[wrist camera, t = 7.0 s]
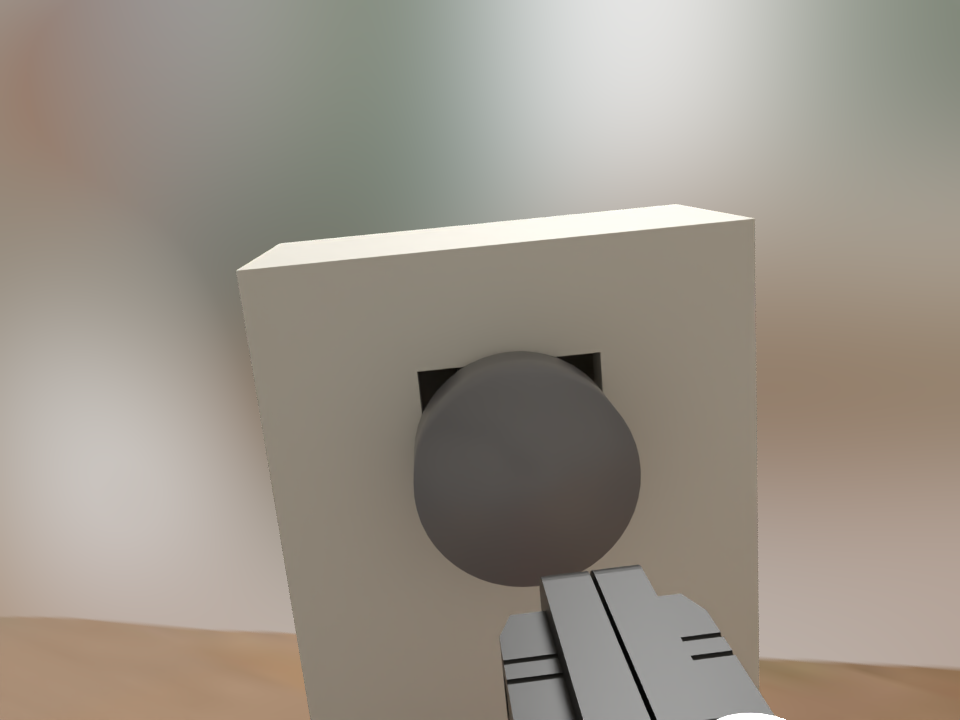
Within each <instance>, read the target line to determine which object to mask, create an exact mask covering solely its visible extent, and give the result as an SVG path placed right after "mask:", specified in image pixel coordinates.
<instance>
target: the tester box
mask: <svg viewBox="0 0 960 720" xmlns="http://www.w3.org/2000/svg"><path fill="white" fill-rule="evenodd" d="M236 273H237V279H238V286H239V291H240V297H241V304H242V310H243V315H244V322H245V328H246V333H247V340H248V346H249V351H250V358H251V364H252V370H253V376H254V382H255V388H256V394H257V400H258V406H259V412H260V418H261V423H262V430H263V436H264V442H265V448H266V454H267V460H268V466H269V472H270V478H271V484H272V490H273V496H274V502H275V508H276V514H277V520H278V526H279V532H280V539H281V545H282V551H283V556H284V563H285V569H286V575H287V581H288V587H289V593H290V599H291V605H292V611H293V617H294V623H295V629H296V635H297V641H298V647H299V653H300V659H301V665H302V671H303V677H304V683H305V689H306V695H307V701H308V707H309V713H310V719H311V720H508V718H507V708H506V698H505V688H504V678H503V669H502V659H501V649H500V639H499V637H500V634H501V632H502V630H503V628H504V626H505V624H506V622H507V620H508V618H509V616H510V615H515V614H523V613H531V612H539V611H541V601H540V588H539V586H532V587H512V586H504V585H498V584H493V583H490V582H487V581H484V580H481V579H478V578H476V577H474V576H472V575H470V574H468V573H466V572H464V571H463V570H461V569H460V568H458V567H456V566H455V565H454V564H453V563H451V562H450V561H449V560H448V559H446V558H445V557H444V556H443V555H442V554H441V552H440V551H439V550H438V549H437V548H436V547H435V546H434V544H433V543H432V541H431V540H430V538H429V537H428V536H427V534H426V532H425V530H424V528H423V526H422V524H421V521H420V518H419V515H418V512H417V509H416V503H415V498H414V483H413V481H414V446H415V437H416V432H417V428H418V424H419V422H420V419H421V416H422V414H423V411H424V410H425V408H426V406H427V404H428V402H429V401H430V399H431V398H432V396H433V395H434V394H435V392H436V391H437V390H438V389H439V388H440V386H441V385H442V384H443V383H444V382H445V381H446V380H447V379H449V378H450V377H451V376H452V375H453V374H455V373H456V368H457V367H465V366H467V365H468V364H470V363H473V362H475V361H477V360H479V359H481V358H484V357H488V356H491V355H494V354H499V353H505V352H516V351H527V352H537V353H542V354H546V355H551V356H553V357H556V358H559V359H562V360H564V361H566V362H568V363H570V364H572V365H574V366H575V367H577V368H578V369H579V370H581V371H582V372H584V373H585V374H586V375H587V376H588V377H589V378H591V379H592V380H593V381H594V382H595V383H596V385H597V386H598V387H599V388H600V389H601V391H602V392H603V393H604V394H605V396H606V397H607V398H608V400H609V401H610V402H611V404H612V405H613V406H614V407H615V409H616V410H617V411H618V413H619V414H620V415H621V416H622V418H623V419H624V421H625V423H626V424H627V426H628V428H629V429H630V431H631V433H632V436H633V438H634V441H635V443H636V446H637V450H638V454H639V459H640V467H641V485H640V491H639V498H638V501H637V505H636V508H635V511H634V514H633V516H632V518H631V520H630V522H629V525H628V526H627V528H626V530H625V531H624V533H623V534H622V536H621V537H620V539H619V540H618V541H617V542H616V544H615V545H614V546H613V547H612V548H611V549H610V550H609V551H608V552H607V553H606V554H605V555H604V556H603V557H602V558H601V559H600V560H598V561H597V562H596V563H594V564H593V565H592V566H590V567H589V568H587V569H585V570H583V571H588V572H589V574H590V571H591V570H598V569H606V568H614V567H622V566H630V565H640V566H641V567H642V569H643V571H644V572H645V574H646V576H647V578H648V580H649V581H650V583H651V585H652V587H653V589H654V590H655V592H656V594H657V596H664V595H672V594H680V593H681V594H682V595H684V596H685V597H687V598H688V599H690V600H692V601H693V602H695V603H696V604H698V605H699V606H701V607H702V608H704V609H705V610H707V612H708V613H709V615H710V616H711V618H712V619H713V621H714V623H715V624H716V626H717V627H718V629H719V630H720V632H721V636H722V637H723V636H724V638H725V640H726V641H727V643H728V644H729V646H730V647H731V649H732V652H733V655H736V657H737V658H738V660H739V661H740V663H741V664H742V666H743V667H744V669H745V671H746V672H747V674H748V675H749V677H750V678H751V680H752V681H753V683H754V685H755V686H756V688H757V689H758V691H759V624H758V623H759V620H758V619H759V617H758V524H757V523H758V519H757V517H758V513H757V416H756V415H757V413H756V412H757V410H756V310H755V309H756V303H755V219H754V218H748V217H743V216H738V215H732V214H727V213H721V212H716V211H710V210H705V209H700V208H695V207H689V206H684V205H678V204H674V205H664V206H654V207H643V208H633V209H623V210H613V211H603V212H593V213H583V214H573V215H563V216H553V217H543V218H533V219H523V220H513V221H502V222H492V223H482V224H472V225H462V226H452V227H442V228H433V229H422V230H412V231H401V232H392V233H382V234H371V235H361V236H351V237H341V238H332V239H321V240H311V241H301V242H291V243H280V244H278V245H277V246H275V247H274V248H272V249H270V250H269V251H267V252H265V253H264V254H262V255H261V256H259V257H257V258H256V259H254V260H253V261H251V262H249V263H248V264H246V265H244V266H243V267H241V268H240V269H238V270H236ZM583 571H582V572H583Z"/></svg>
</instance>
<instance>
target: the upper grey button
mask: <svg viewBox="0 0 960 720" xmlns="http://www.w3.org/2000/svg"><path fill="white" fill-rule="evenodd" d="M413 483H414V498H415V503H416V509H417V512H418V515H419V518H420V521H421V524H422V526H423V528H424V530H425V532H426V534H427V536H428V537H429V538H430V540H431V541H432V543H433V544H434V546H435V547H436V548H437V549H438V550H439V551H440V552H441V554H442V555H443V556H444V557H445V558H446V559H448V560H449V561H450V562H451V563H453V564H454V565H455V566H456V567H458V568H460V569H461V570H463V571H464V572H466V573H468V574H470V575H472V576H474V577H476V578H478V579H481V580H484V581H487V582H490V583H493V584H498V585H504V586H512V587H532V586H539V579H540V577H543V576H551V575H559V574H567V573H575V572H582V571H583V570H585V569H587V568H589V567H590V566H592V565H593V564H594V563H596V562H597V561H598V560H600V559H601V558H602V557H603V556H604V555H605V554H606V553H607V552H608V551H609V550H610V549H611V548H612V547H613V546H614V545H615V544H616V542H617V541H618V540H619V539H620V537H621V536H622V534H623V533H624V531H625V530H626V528H627V526H628V525H629V522H630V520H631V518H632V516H633V514H634V511H635V508H636V505H637V501H638V498H639V491H640V485H641V467H640V459H639V454H638V450H637V446H636V443H635V441H634V438H633V436H632V433H631V431H630V429H629V428H628V426H627V424H626V423H625V421H624V419H623V418H622V416H621V415H620V414H619V413H618V411H617V410H616V409H615V407H614V406H613V405H612V404H611V402H610V401H609V400H608V398H607V397H606V396H605V394H604V393H603V392H602V391H601V389H600V388H599V387H598V386H597V385H596V383H595V382H594V381H593V380H592V379H591V378H589V377H588V376H587V375H586V374H585V373H584V372H582V371H581V370H579V369H578V368H577V367H575V366H574V365H572V364H570V363H568V362H566V361H564V360H562V359H559V358H556V357H553V356H551V355H546V354H542V353H537V352H527V351H516V352H505V353H499V354H494V355H491V356H488V357H484V358H481V359H479V360H477V361H475V362H473V363H470V364H468V365H467V366H465V367H457V368H456V373H455V374H453V375H452V376H451V377H450V378H449V379H447V380H446V381H445V382H444V383H443V384H442V385H441V386H440V388H439V389H438V390H437V391H436V392H435V394H434V395H433V396H432V398H431V399H430V401H429V402H428V404H427V406H426V408H425V410H424V411H423V414H422V416H421V419H420V422H419V424H418V428H417V432H416V437H415V446H414V481H413Z"/></svg>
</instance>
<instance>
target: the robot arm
mask: <svg viewBox="0 0 960 720" xmlns="http://www.w3.org/2000/svg"><path fill="white" fill-rule="evenodd" d="M539 588H540V601H541V611H539V612H531V613H523V614H515V615H510V616H509V618H508V620H507V622H506V624H505V626H504V628H503V630H502V632H501V634H500V637H499V639H500V649H501V659H502V669H503V678H504V688H505V698H506V708H507V718H508V720H785V719H782V718H779V717H775V716H774V714H773V712H772V711H771V709H770V708H769V706H768V705H767V703H766V702H765V700H764V698H763V697H762V695H761V694H760V692H759V691H758V689H757V688H756V686H755V685H754V683H753V681H752V680H751V678H750V677H749V675H748V674H747V672H746V671H745V669H744V667H743V666H742V664H741V663H740V661H739V660H738V658H737V657H736V655H733V652H732V649H731V647H730V646H729V644H728V643H727V641H726V640H725V638H724V636H723V637H722V636H721V632H720V630H719V629H718V627H717V626H716V624H715V623H714V621H713V619H712V618H711V616H710V615H709V613H708V612H707V610H705V609H704V608H702V607H701V606H699V605H698V604H696V603H695V602H693V601H692V600H690V599H688V598H687V597H685V596H684V595H682V594H681V593H680V594H672V595H664V596H657V594H656V592H655V590H654V589H653V587H652V585H651V583H650V581H649V580H648V578H647V576H646V574H645V572H644V571H643V569H642V567H641V566H640V565H630V566H622V567H614V568H606V569H598V570H591V571H590V574H589V572H588V571H583V572H575V573H567V574H559V575H551V576H543V577H540V579H539Z"/></svg>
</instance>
